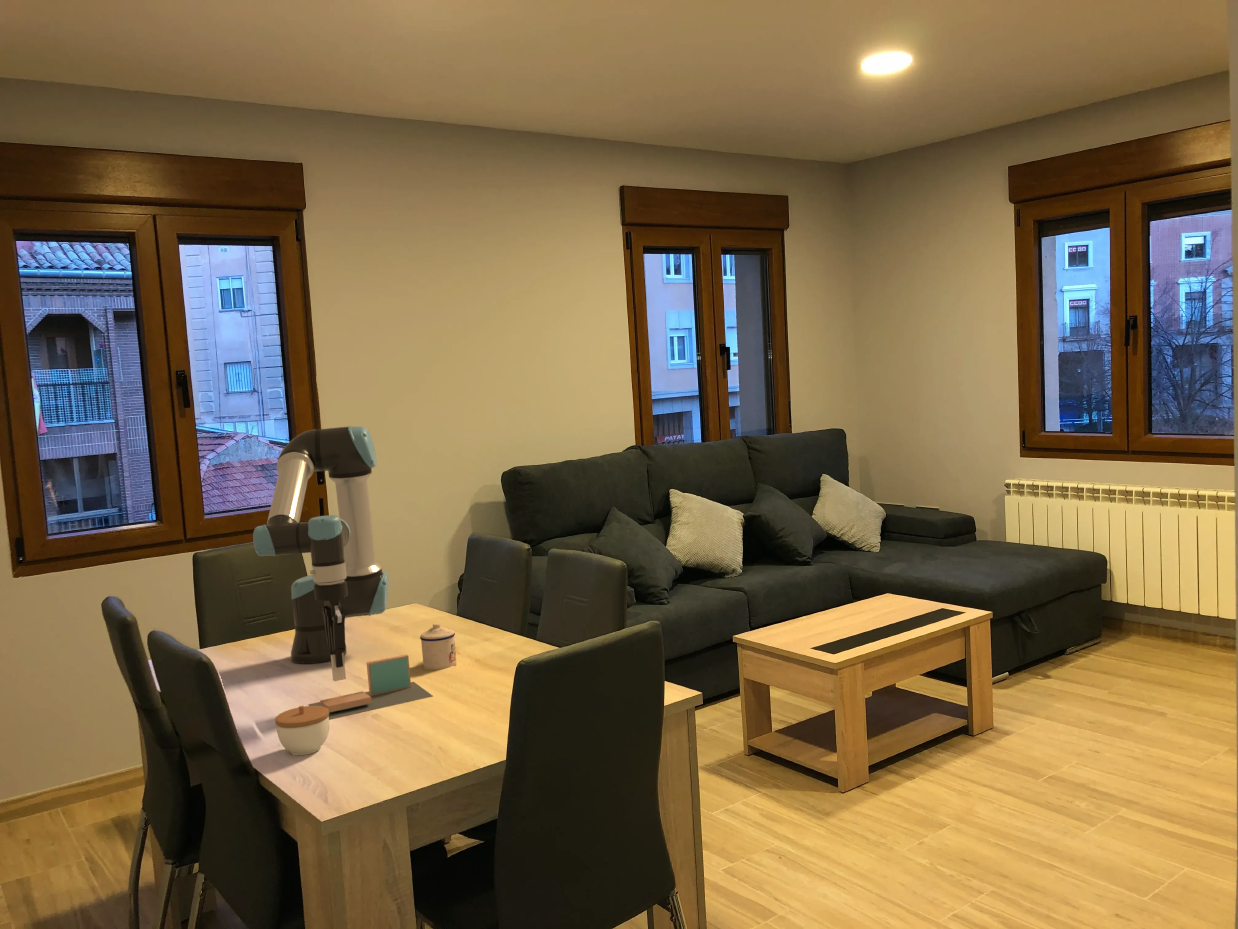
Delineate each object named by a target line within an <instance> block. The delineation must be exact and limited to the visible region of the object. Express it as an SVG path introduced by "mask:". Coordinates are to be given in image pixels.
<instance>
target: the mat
mask: <svg viewBox="0 0 1238 929" xmlns="http://www.w3.org/2000/svg"><path fill="white" fill-rule="evenodd" d="M363 692H364V693H366V694H367V695H369V690H368V691H363ZM369 696H370V695H369ZM370 697H371V700H372V703H370V704H367V705H362V706H358V707H353V708H349V709H344V710H340V711H335V712H331V713H330V712H329V721H331V720H335V719H338V718H343V717H349V716H351V715H357V714H361V713H366V712H371V711H373V710H379V709H384V708H388V707H392V706H397V705H401V704H405V703H410V702H415V701H418V700H419V701H420V700H423V699H428V698H432V697H434V696H433V694H431V693H429V691H427V690H426V689H424V688H423V687H421V686H420V685H419V684H418V683H416V682H415V681H411V687H410V688H405V689H401V690H396V691H392V692H387V693H383V694H378V695H373V696H370ZM307 706H321V704H320V701H317V702H313V703H309V704H307Z"/></svg>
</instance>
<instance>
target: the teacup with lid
mask: <svg viewBox="0 0 1238 929" xmlns="http://www.w3.org/2000/svg"><path fill="white" fill-rule="evenodd" d="M455 635H456V633H455V631H454V630H453V629H450V628H446V627H445V626H442V625H441V623H439V622H435V623H433V624H432V627H430V628H429V629H428V630H426V631H424V632H421V634H420V636H419V639H420V641H421V654H422V663H423V664H422V665H423V666H422V667H423V668H424V669H425V670H433V671H434V670H435V671H436V670H442V669H443V670H444V669H448V668H451V667H456V666H457V654H456V644H455V643H456V642H455V641H456V640H455Z"/></svg>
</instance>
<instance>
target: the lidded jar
mask: <svg viewBox="0 0 1238 929" xmlns="http://www.w3.org/2000/svg"><path fill="white" fill-rule="evenodd" d="M274 720H275V721H274V722H275V726H276V733H277V737H278V740H279V742H280V744H281V746H282V747H283V748H284V749H285V750H286V751H288V752H289V753H290V754H291V755H293V756H306V755H311V754H313V753H316V752H318V751H320V750H321V749H322V746H323V745H324V743H325V742H326V740H327V738H328V736H329V733H330V732H329V731H330V720H329V710H328V709H327V708H326V707H322V706H309V705H306V706H305V705H299V706H298V707H294V708H290V709H288V710H285V711H282V712H281V713H278V714H277V716H276V717H275V719H274Z"/></svg>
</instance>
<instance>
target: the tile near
mask: <svg viewBox="0 0 1238 929" xmlns="http://www.w3.org/2000/svg"><path fill="white" fill-rule="evenodd" d="M364 692H365V691H358V692H353V693H348V694H345V695H339V696H335V697H330V698H325V699H321V700H319V702H320V704H321V706H322V707H326V708H327V709H328V710H329V712H330V713H331V712H335V711H340V710H344V709H349V708H353V707H358V706H362V705H367V704H370V703H372V700H371V697H370V696H369V695H367V694H366V693H364Z"/></svg>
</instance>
